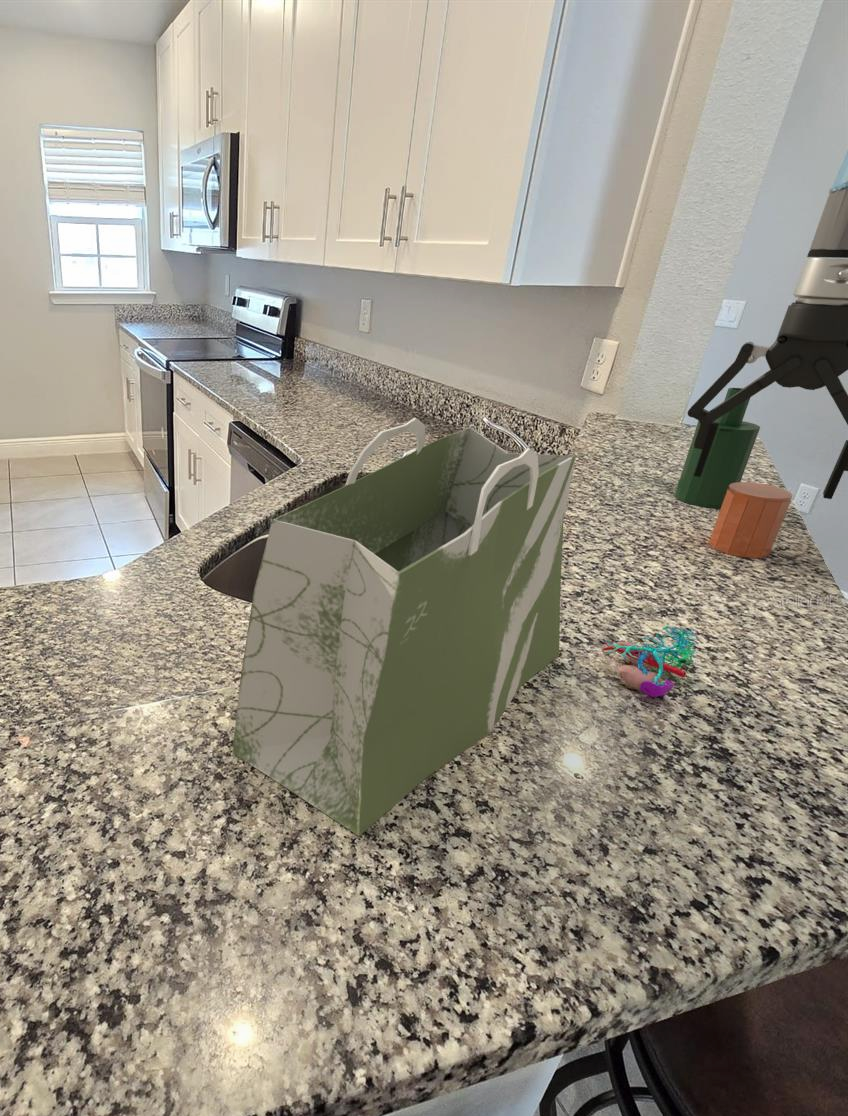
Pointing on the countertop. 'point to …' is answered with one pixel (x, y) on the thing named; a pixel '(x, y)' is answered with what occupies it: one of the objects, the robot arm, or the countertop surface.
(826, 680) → the countertop surface
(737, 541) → the orange octagonal cylinder
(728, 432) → the bottle
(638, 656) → the anatomy model
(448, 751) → the grocery bag
